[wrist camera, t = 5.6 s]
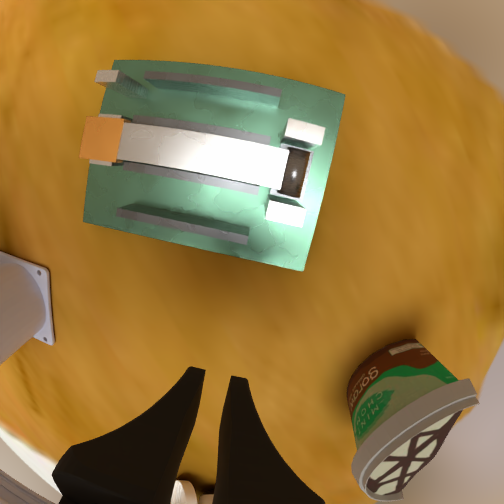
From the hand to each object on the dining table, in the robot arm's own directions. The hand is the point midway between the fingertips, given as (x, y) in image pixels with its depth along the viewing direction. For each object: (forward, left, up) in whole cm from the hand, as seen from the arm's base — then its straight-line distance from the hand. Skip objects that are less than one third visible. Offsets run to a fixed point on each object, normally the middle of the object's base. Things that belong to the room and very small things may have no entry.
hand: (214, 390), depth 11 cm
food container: (+13, -6, -11) cm, 18 cm away
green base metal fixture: (-4, +9, -10) cm, 14 cm away
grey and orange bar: (-4, +9, -6) cm, 12 cm away
